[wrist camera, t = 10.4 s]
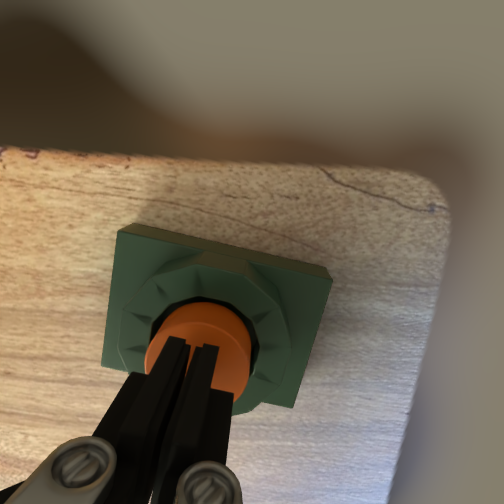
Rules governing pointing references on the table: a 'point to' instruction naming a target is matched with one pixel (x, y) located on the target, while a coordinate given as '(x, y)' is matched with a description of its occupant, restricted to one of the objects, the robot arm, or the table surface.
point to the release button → (209, 342)
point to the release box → (219, 292)
